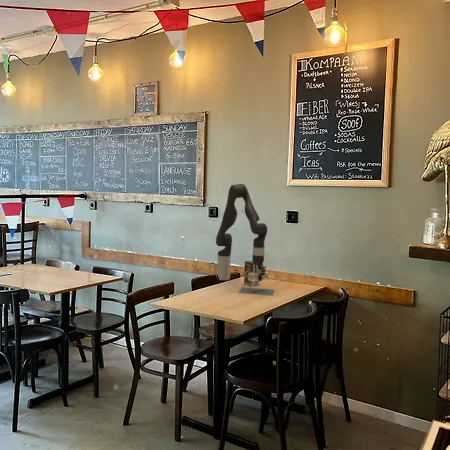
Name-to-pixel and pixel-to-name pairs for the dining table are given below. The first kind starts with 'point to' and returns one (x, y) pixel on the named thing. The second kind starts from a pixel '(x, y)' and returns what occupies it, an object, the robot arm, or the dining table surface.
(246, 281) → the coffee box
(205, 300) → the dining table surface
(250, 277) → the block
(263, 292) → the mat
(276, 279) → the dining table surface
